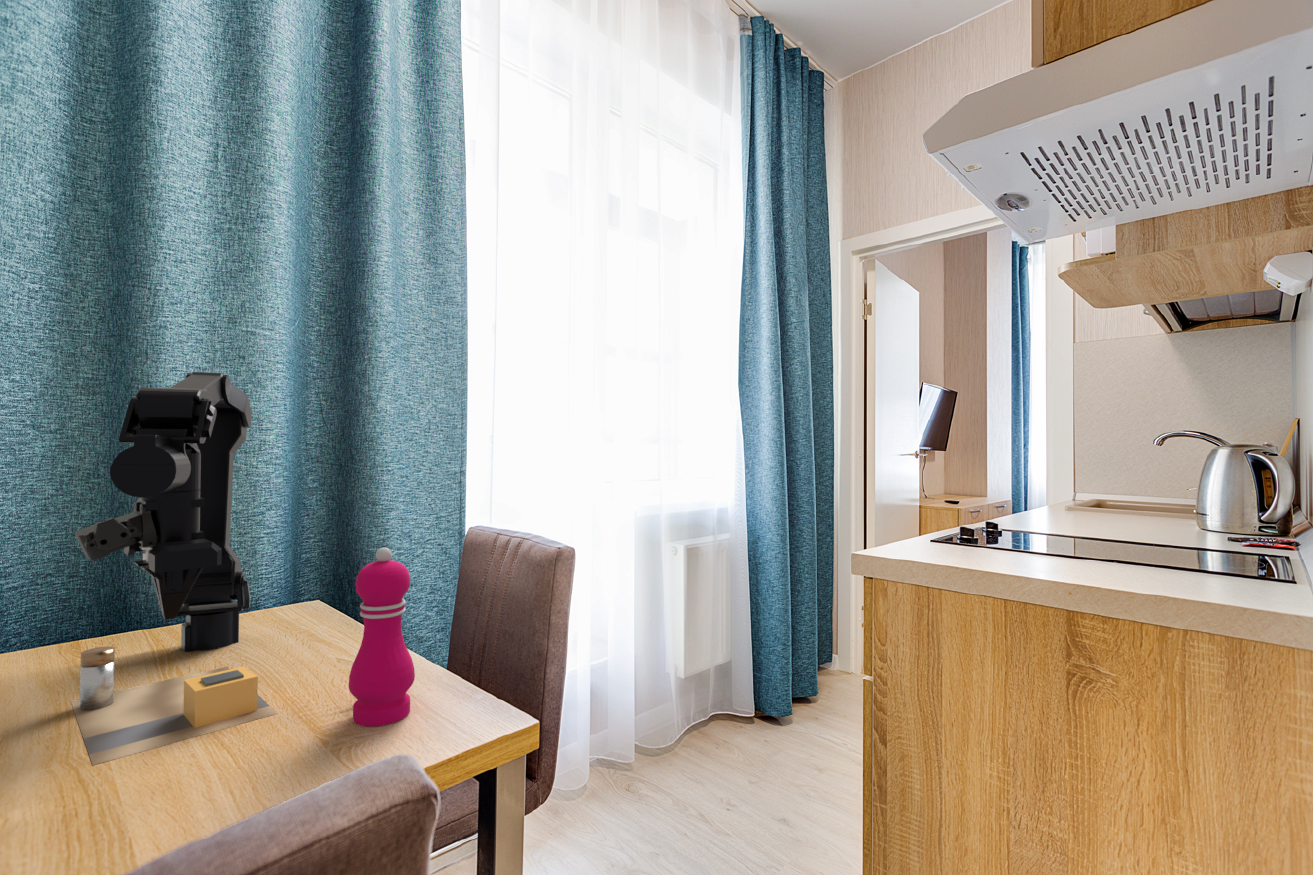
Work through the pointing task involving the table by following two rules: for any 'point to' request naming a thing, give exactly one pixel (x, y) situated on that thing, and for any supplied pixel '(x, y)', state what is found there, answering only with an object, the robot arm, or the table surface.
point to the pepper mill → (382, 645)
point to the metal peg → (97, 678)
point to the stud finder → (220, 696)
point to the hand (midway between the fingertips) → (169, 618)
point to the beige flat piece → (148, 720)
